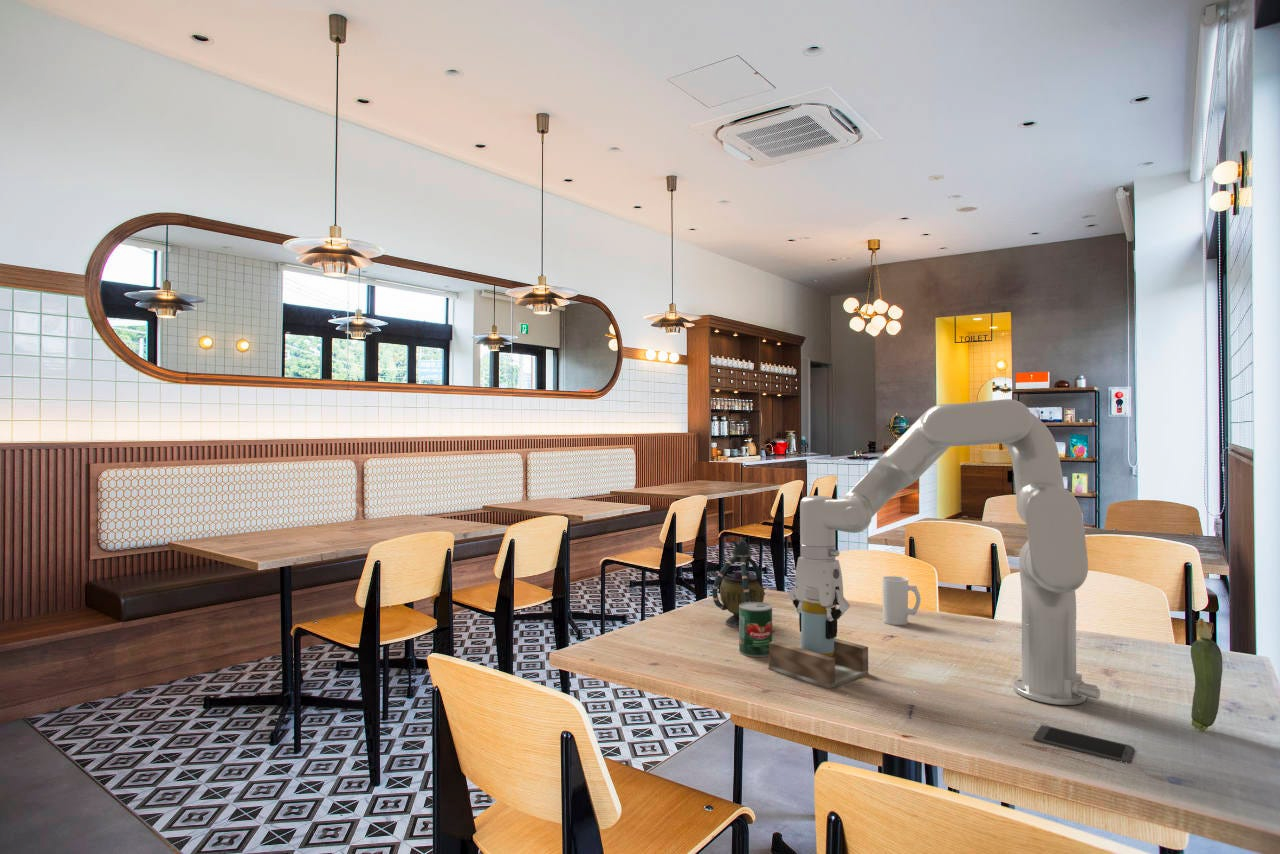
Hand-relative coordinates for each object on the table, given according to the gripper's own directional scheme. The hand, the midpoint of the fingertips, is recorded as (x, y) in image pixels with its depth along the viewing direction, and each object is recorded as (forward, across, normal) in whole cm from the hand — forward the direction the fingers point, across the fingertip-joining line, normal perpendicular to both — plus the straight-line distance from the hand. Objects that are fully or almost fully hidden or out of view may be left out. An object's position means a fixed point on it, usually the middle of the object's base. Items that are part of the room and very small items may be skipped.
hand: (817, 633), depth 158 cm
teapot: (+9, +38, -19) cm, 43 cm away
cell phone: (+9, -51, -4) cm, 52 cm away
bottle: (+5, 0, 0) cm, 5 cm away
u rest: (+8, 0, 0) cm, 8 cm away
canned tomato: (+9, +18, 0) cm, 20 cm away
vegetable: (+8, -63, -26) cm, 69 cm away
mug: (+8, +9, -49) cm, 51 cm away
